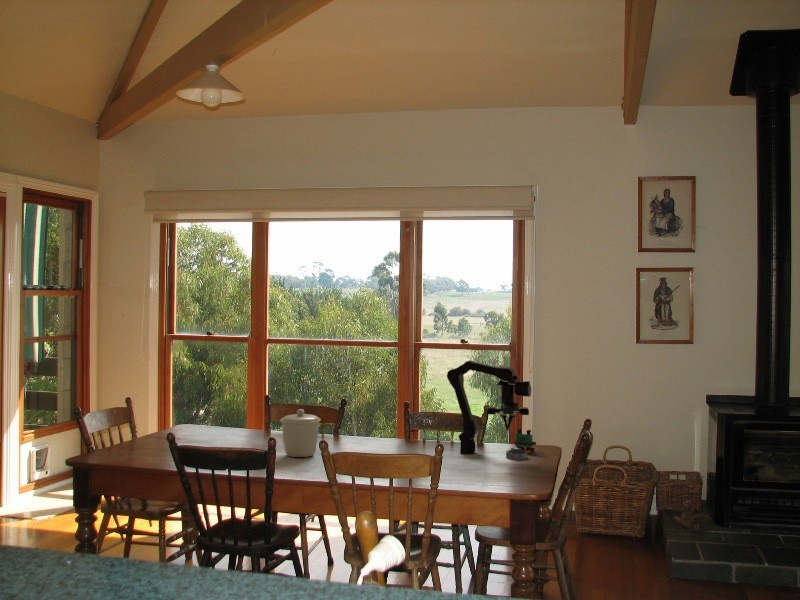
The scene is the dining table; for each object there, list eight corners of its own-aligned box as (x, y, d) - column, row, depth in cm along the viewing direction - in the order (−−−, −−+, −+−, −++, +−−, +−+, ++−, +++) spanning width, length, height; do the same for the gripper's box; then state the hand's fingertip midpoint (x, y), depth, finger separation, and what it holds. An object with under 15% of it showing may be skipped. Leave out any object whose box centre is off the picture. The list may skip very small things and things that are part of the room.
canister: (322, 451, 348) (322, 406, 348) (318, 460, 330) (318, 412, 329) (283, 451, 348) (283, 405, 348) (276, 460, 330) (277, 412, 330)
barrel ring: (506, 459, 333) (506, 453, 333) (505, 455, 342) (505, 449, 342) (527, 459, 332) (527, 454, 332) (525, 455, 341) (525, 450, 341)
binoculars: (538, 429, 354) (531, 430, 345) (537, 451, 353) (530, 453, 345) (520, 427, 358) (513, 428, 350) (519, 449, 358) (512, 451, 349)
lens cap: (510, 458, 335) (511, 449, 335) (510, 456, 340) (510, 447, 340) (522, 459, 334) (522, 449, 334) (521, 456, 339) (521, 447, 339)
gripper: (487, 397, 332) (487, 432, 332) (530, 398, 330) (529, 433, 330) (486, 394, 343) (486, 428, 343) (527, 394, 341) (527, 429, 341)
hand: (507, 429), depth 339 cm, fingers closed
